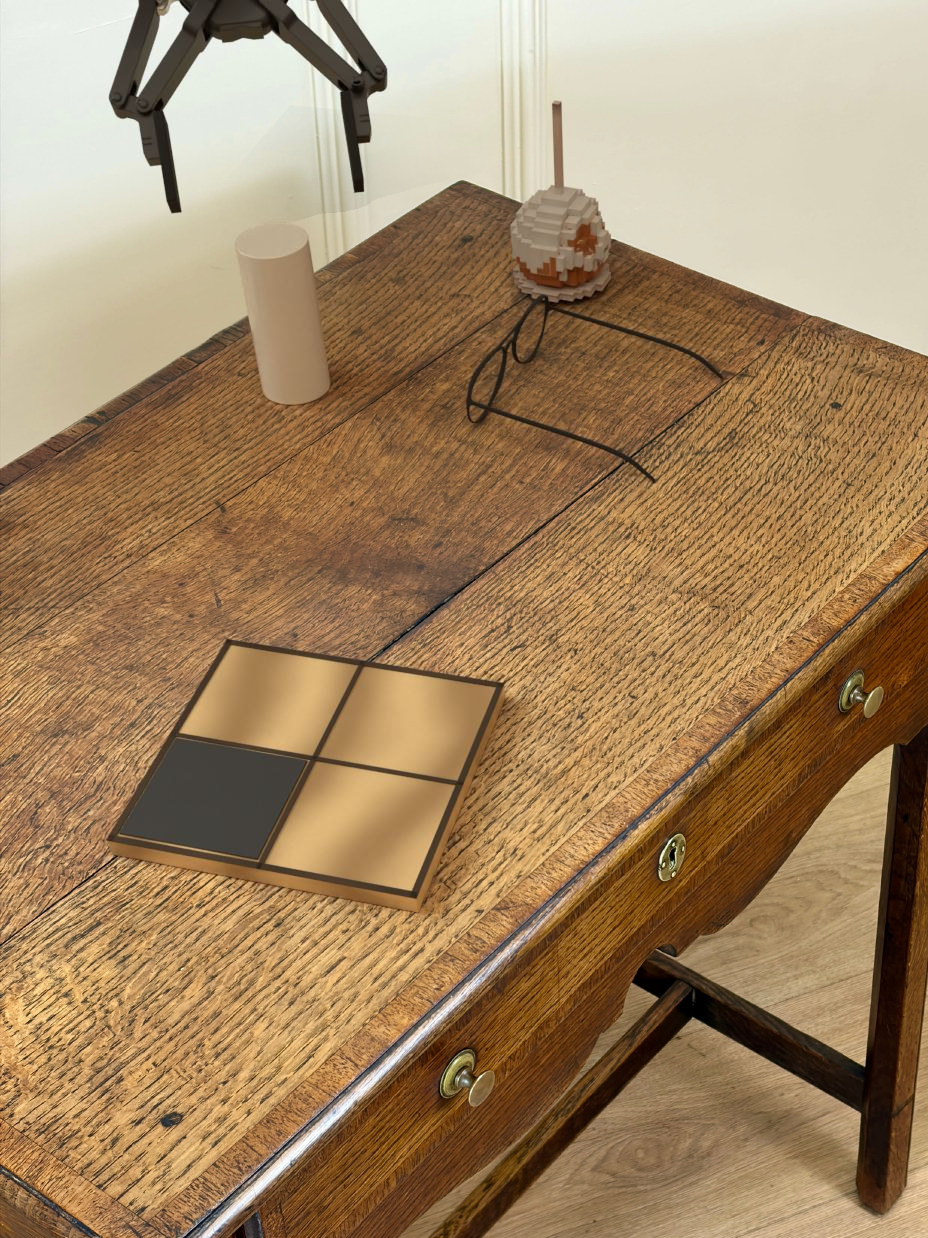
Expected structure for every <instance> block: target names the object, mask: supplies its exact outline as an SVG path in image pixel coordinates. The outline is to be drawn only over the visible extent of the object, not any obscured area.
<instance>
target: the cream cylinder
mask: <svg viewBox="0 0 928 1238" xmlns="http://www.w3.org/2000/svg"><path fill="white" fill-rule="evenodd" d="M309 238H310V237H309V234H308V232H307V231H306V230H305V229H304V228H303V227H301V226H299V225H297V224H294V223H290V222H267V223H261V224H257V225H254V226H252V227H249V228H247V229H244V230H243V231H242V232H241V233H239V234H238V235H237V237H236V238H235V241H234V249H235V254H236V259H237V264H238V269H239V276H240V281H241V285H242V290H243V296H244V302H245V307H246V312H247V317H248V323H249V327H250V334H251V339H252V345H253V349H254V355H255V359H256V364H257V370H258V374H259V381H260V386H261V392H262V394H263V395H264V396H265V398H267V399H268V400H269V401H270V402H273V403H275V404H280V405H285V406H296V405H303V404H307V403H311V402H313V401H314V402H315V400H318V399H320V398H321V397H323V396H324V395H325V394H326V393H327V392H328V391H329V389H330V387H331V376H330V369H329V363H328V355H327V349H326V343H325V336H324V331H323V323H322V317H321V311H320V304H319V298H318V290H317V284H316V277H315V271H314V265H313V259H312V258H313V257H312V251H311V244H310V239H309Z"/></svg>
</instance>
